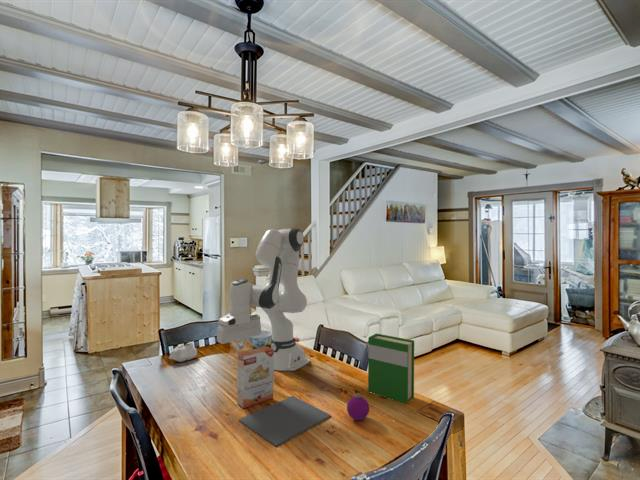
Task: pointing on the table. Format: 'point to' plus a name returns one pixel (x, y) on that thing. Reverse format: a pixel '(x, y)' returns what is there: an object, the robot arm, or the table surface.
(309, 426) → the mat
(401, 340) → the hardback book
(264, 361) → the cracker box
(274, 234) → the robot arm
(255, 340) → the chinaware
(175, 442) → the table surface
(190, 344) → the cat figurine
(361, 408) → the christmas ornament
